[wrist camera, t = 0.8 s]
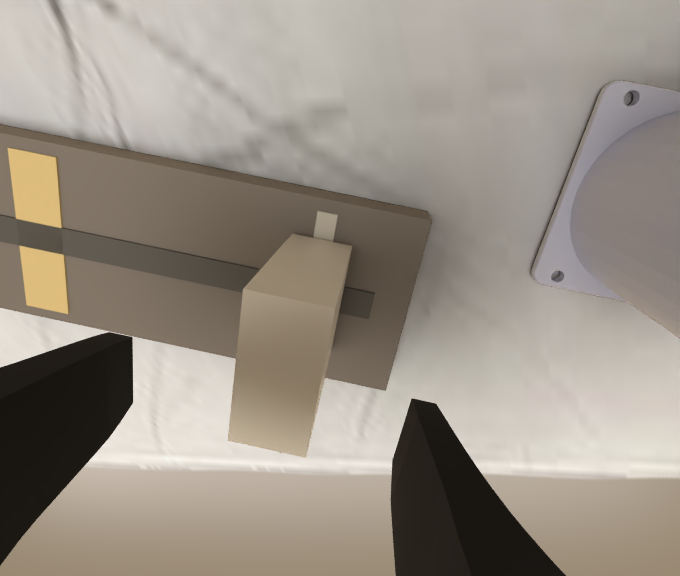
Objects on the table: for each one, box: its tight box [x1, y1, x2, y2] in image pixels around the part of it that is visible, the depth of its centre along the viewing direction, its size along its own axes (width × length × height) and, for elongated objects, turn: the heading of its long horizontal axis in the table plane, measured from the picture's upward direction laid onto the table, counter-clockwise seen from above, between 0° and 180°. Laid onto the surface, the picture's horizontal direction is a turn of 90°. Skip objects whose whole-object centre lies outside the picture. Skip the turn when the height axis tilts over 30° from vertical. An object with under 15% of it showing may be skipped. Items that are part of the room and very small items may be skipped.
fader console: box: [0, 124, 432, 391], centre depth 18 cm, size 20×8×2 cm, turn 80°
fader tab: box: [228, 233, 352, 458], centre depth 14 cm, size 2×5×6 cm, turn 170°
